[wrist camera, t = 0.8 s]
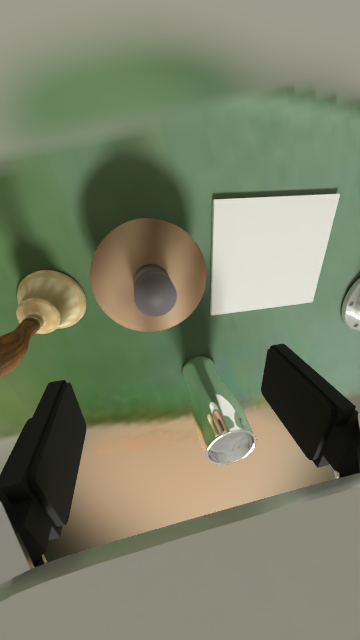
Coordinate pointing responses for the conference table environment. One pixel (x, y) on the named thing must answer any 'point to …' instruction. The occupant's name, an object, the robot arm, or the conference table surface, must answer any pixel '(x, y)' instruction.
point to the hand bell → (41, 312)
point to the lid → (148, 274)
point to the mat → (268, 250)
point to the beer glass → (217, 414)
